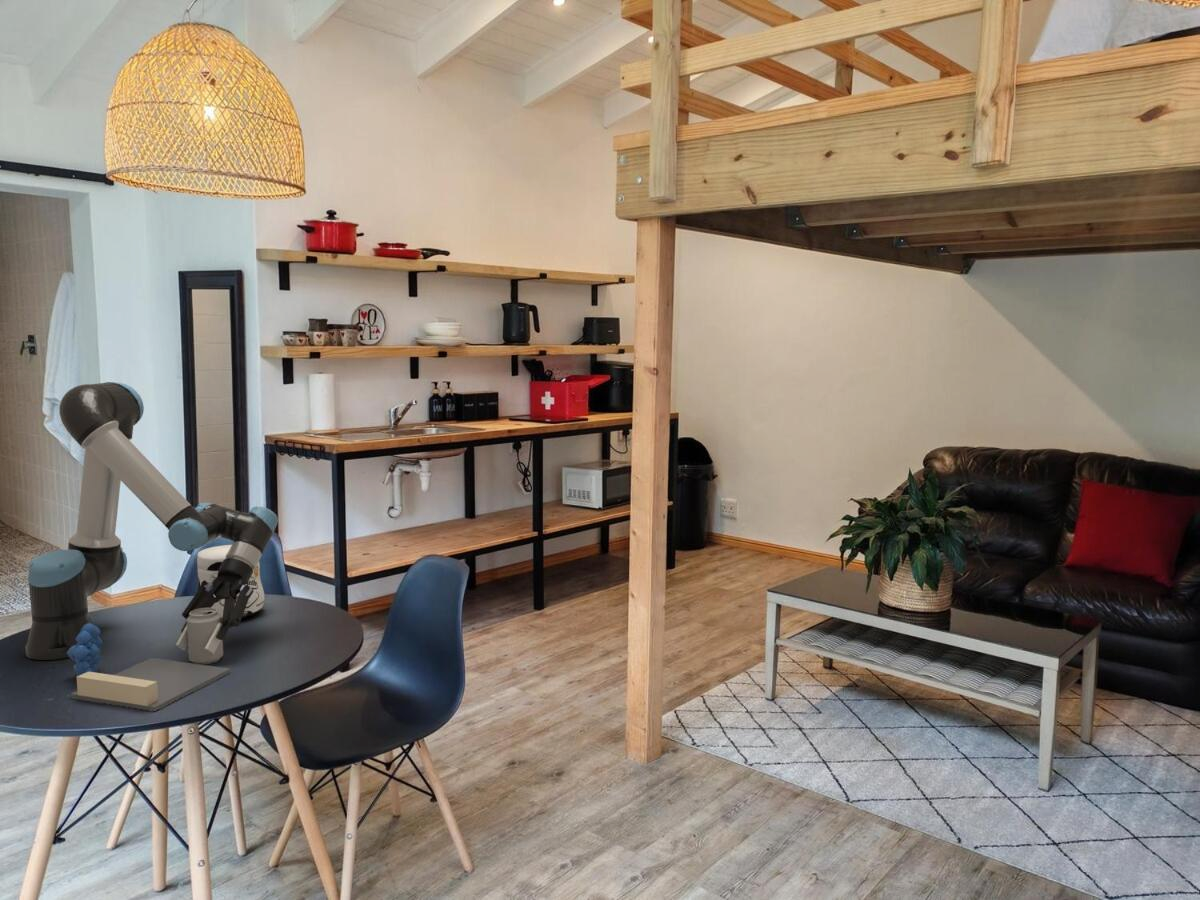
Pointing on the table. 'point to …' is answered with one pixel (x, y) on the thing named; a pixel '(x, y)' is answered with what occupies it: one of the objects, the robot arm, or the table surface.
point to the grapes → (86, 649)
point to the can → (202, 635)
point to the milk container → (208, 571)
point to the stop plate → (167, 680)
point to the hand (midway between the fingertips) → (194, 649)
